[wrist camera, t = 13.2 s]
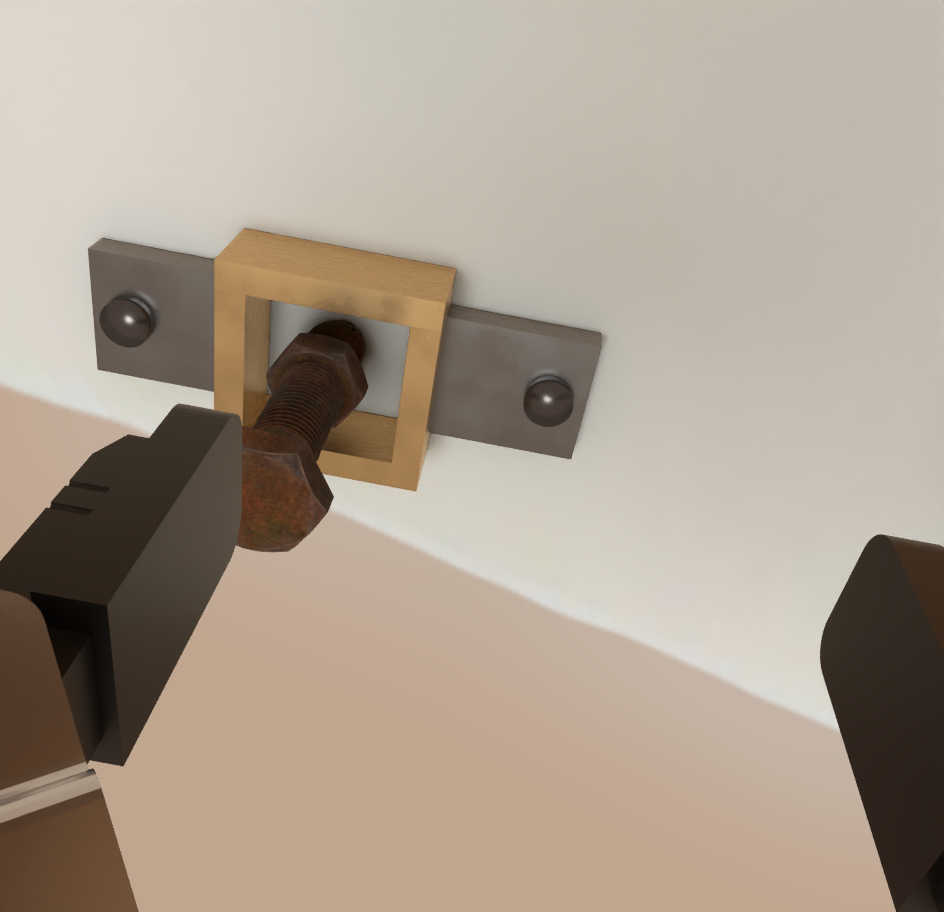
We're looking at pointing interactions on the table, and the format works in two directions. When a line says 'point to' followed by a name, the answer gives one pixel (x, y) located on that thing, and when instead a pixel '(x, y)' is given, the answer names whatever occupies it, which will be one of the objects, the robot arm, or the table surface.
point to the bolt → (298, 436)
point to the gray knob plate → (513, 381)
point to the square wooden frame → (343, 291)
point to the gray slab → (153, 313)
